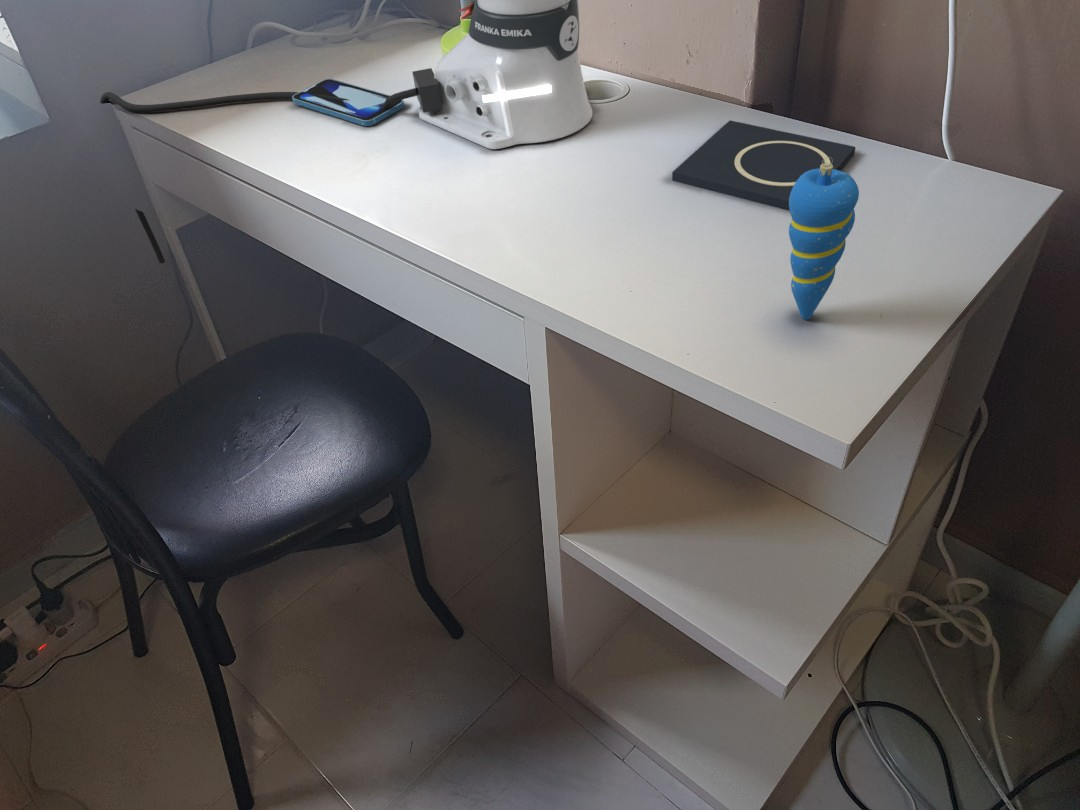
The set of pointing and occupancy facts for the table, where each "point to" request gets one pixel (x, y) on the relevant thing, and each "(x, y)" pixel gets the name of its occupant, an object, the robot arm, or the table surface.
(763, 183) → the mat
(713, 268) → the table surface
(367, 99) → the smartphone
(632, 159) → the table surface
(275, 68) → the table surface
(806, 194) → the ornament
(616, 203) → the table surface
